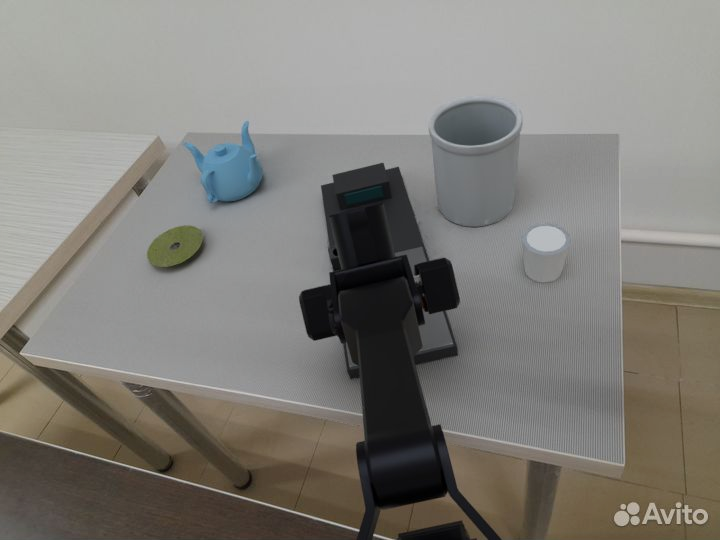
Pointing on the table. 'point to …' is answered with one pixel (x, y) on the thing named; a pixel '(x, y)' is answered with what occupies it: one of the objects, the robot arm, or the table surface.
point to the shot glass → (545, 251)
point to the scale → (406, 237)
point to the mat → (174, 246)
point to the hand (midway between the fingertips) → (379, 293)
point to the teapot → (229, 169)
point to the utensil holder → (476, 158)
